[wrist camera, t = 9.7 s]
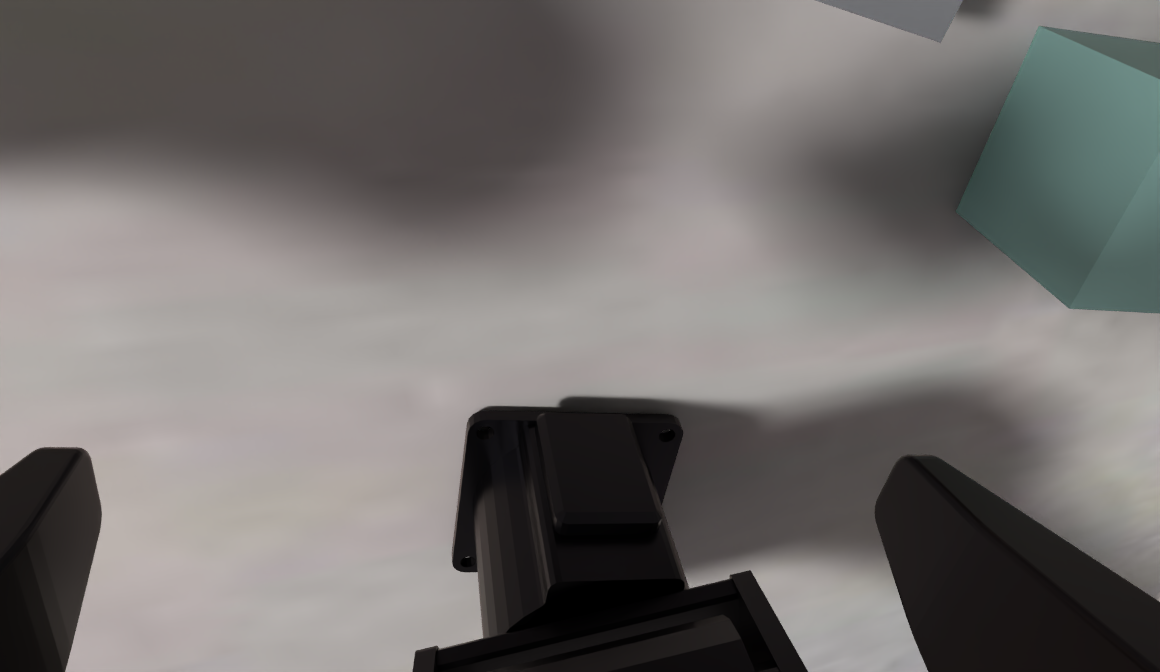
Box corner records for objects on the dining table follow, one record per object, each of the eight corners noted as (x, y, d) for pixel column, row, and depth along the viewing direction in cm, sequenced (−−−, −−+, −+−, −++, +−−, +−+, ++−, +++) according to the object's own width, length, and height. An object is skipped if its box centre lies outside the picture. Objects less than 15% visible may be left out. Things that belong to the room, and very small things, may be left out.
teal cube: (1103, 222, 24) (1242, 317, 20) (953, 210, 23) (1069, 308, 19) (1202, 48, 21) (1385, 118, 17) (1037, 24, 20) (1192, 93, 16)
